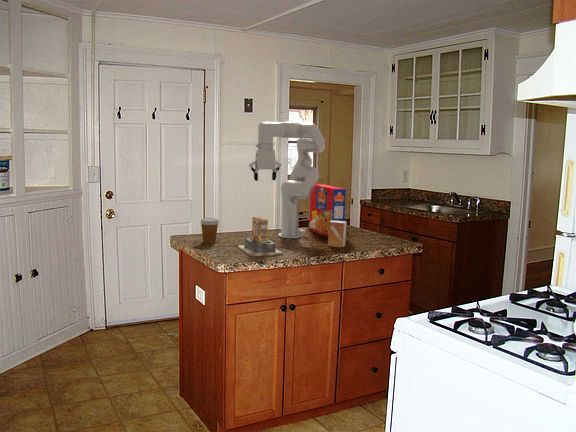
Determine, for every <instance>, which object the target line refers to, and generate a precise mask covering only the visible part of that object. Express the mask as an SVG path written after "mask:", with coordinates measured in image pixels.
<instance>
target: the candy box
mask: <svg viewBox="0 0 576 432" xmlns="http://www.w3.org/2000/svg"><path fill="white" fill-rule="evenodd" d="M251 220H252V221H251V222H252V223H251V227H252V228H251V238H252V241H253V242H255V243H256V244H265V243H267V239H268V234H269V233H268V232H269V231H268V229H269V219H268V218H264V217H261V216H253V217H251Z"/></svg>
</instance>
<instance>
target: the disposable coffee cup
mask: <svg viewBox="0 0 576 432" xmlns="http://www.w3.org/2000/svg"><path fill="white" fill-rule="evenodd" d="M219 223H220V222H219V219H218V218H211V217H210V218H207V217H206V218H201V220H200V225H201V233H202V243H203V244H206V245H207V244H208V245H209V244H210V245H211V244H212V245H213V244H216V241H217V233H218V227H219Z"/></svg>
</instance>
